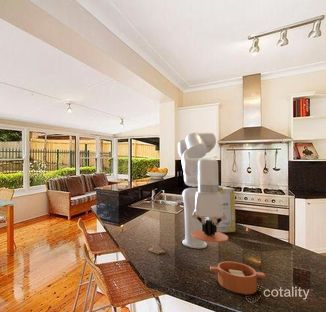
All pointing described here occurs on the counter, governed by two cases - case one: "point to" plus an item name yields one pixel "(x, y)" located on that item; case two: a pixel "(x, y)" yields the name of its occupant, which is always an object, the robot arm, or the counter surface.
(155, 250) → the shard
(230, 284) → the pan
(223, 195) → the pasta box
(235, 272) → the block
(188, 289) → the counter surface
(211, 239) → the lid
